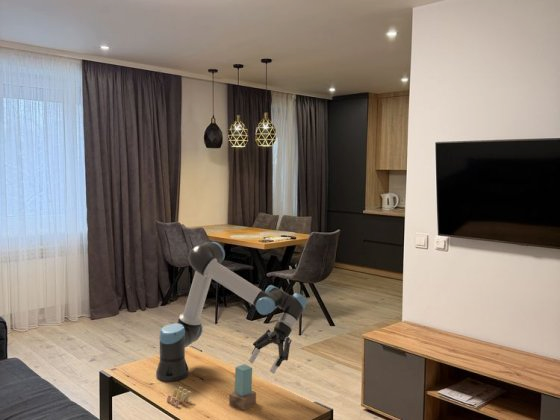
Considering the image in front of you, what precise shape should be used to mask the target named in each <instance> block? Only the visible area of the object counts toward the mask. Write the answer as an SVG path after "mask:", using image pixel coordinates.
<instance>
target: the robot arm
mask: <svg viewBox="0 0 560 420" xmlns="http://www.w3.org/2000/svg"><path fill="white" fill-rule="evenodd" d="M225 256H226V252H225V249H224V247H223V245H221V244H220V243H219V242H216V241H207V242H205V243H203V244H198V245H196V246H194V247H193V248H192V249H191V250H190V252H189V253H188V262H189V265H190V266H191V268H192V269H194V276H193V279H192V283H191V286H190V289H189V294H188V295H187V299H186V303H185V306H184V310H183V313H181V314H180V315H179V316H178V319H177V323H170V324H166V325H165V326H163V327H162V328H160V331H159V338H158V339H159V361H158V364H157V369H156V370H155V373H156V374H155V377H156V379H157V380H159V381H162V382H177V381H181V380H184V379H186V378H187V377H189V366H188V364H187V361H186V357H185V356H186V355H185V354H186V353H185V352H186V351H185V350H186V349H185V348H187V347H189V346H190V345H192V344H193V343H195V342H196V341H197V340H199V338H200V337H201V336H202V333H203V325H202V324H203V323H202V322H203V321H202V318H201V316H202V312H203V308H204V305H205V302H206V299H207V295H208V292H209V290H210V285H211V282H212V280H213V281H215V282H216V283H218V284H219V285H222V286H223V287H224V288H226V289H227V290H229V291H231V292H232V293H234V294H235V295H237V296H238V297H240V298H242V299H243V300H245V301H246V302H248V303H249V304H250V305H253V306H254V307H255V309H256V311H257V313H259V314H260V315H262V316H267V315H269V314H271V313H272V312H273V311H275V310H276V309H277V308H279V309H280V310H283V312H282V314H281V315H280V316H279V318H278V321H277V322H276V324H275V325H274V326H273V330H272V331H271V329H267V330H266V331H265V332H264V333H263V335H261V336H260V337H259V338H258V339H256V340H255V341H254V342H253V344H252V346H253V347H254V348H253V350H252V351H251V355H250V357H249V359H248V360H247V361H248V362H249V363H251V364H254V362H255V361H256V359H257V357H258V355H259V354H260V352H261V349H263V348H265V347H266V346H268V345H270V344H275V345H277V346H278V347H277V348H278V356H277V357H276V358H275V361H274V362H273V364H271V367H270V369H269V372H271V373H272V374H273V375H274V374H275V373H276V371H277V369H278V368H279V367H280V366H281V364H282V362H283V361H288V360H289V355H290V347H291V343H292V339H291V338H290V337H289V336H290V334H291V333H292V332H293V331H292V329H294V327H295V325H296V324H297V322H298V320H299V318H300V317H301V315H302V313H303V312H304V311H305V307H306V306H307V304H308V300H307V298H306V297H305V296H304V295H302V294H301V293H297V292H296V293H293V294H292V295H291V294H289V293H287V292H285V291H284V290H282V289H280V288H279V287H277V286H274V285H272V284H270V285H268V286H267V288H266V289H265V290H264V291H263V290H262V289H261V288H259V287H257V286H255V284H253V283H251V282H249V281H248V280H246V279H244V278H243V277H242V276H240V275H239V274H237V273H235V272H234V271H232V270H230V269H229V268H228V267H226V266H224V265H222V262H223V261H224V259H225Z"/></svg>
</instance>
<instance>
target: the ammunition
mask: <svg viewBox="0 0 560 420" xmlns="http://www.w3.org/2000/svg"><path fill="white" fill-rule="evenodd" d="M191 393H192V391H191V390H187V389H186V388H183V386H178V388H174V389H173V392H172V395H168V396H167V398H166V403H169V402H170V405H172V406H173V405H175V406H174V408H177V407H178V406H179V404H180V402H183V403H185V404H187V403H188V401H189V399H190V397H191ZM176 399H177V400H176ZM174 403H175V404H174Z"/></svg>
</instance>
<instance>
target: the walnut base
mask: <svg viewBox="0 0 560 420" xmlns="http://www.w3.org/2000/svg"><path fill="white" fill-rule="evenodd" d="M228 396H229V397H228V399H229V400H228V402H229V403H228V404H229V405H228V406H229V407H233V408H236V409H239V410H241V411H247V410H248V409H249V408H251V407H252V406H254V405H255V404H256V403H257V392H256V391H253V390H251V394H248V395H245V396H240V395H238V394H237V393H235V390H234V391H233V392H231V393H230V394H229V395H228Z"/></svg>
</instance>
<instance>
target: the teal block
mask: <svg viewBox="0 0 560 420" xmlns="http://www.w3.org/2000/svg"><path fill="white" fill-rule="evenodd" d="M234 369H235V370H234V371H235V372H234V376H235V377H234V391H235V393H237V394H238V395H240V396H245V395H248V394H251V391H252V390H253V389H252V384H253V383H252V382H253V367H251V366H249V365H247V364H245V363H244V364H242V365H241V364H240V365H237V366H235V368H234Z"/></svg>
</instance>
